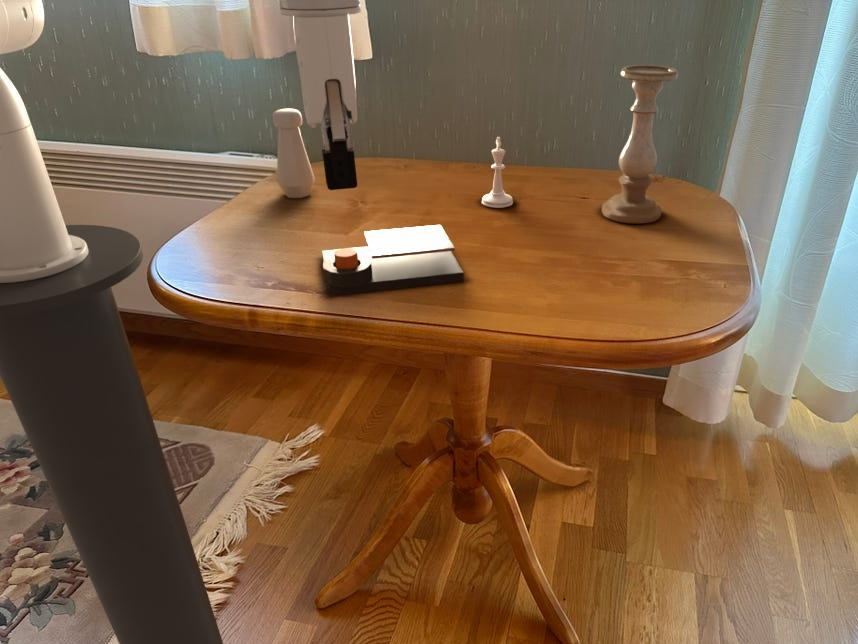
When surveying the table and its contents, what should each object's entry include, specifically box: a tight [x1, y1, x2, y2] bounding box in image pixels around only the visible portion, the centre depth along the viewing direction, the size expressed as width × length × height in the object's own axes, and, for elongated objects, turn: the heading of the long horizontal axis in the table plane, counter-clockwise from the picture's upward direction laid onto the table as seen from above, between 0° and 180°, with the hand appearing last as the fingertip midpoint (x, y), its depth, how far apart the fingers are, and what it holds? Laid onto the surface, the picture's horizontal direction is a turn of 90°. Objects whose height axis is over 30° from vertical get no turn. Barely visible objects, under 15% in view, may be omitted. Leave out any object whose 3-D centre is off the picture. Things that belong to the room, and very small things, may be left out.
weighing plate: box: [363, 224, 456, 259], centre depth 84 cm, size 10×8×1 cm
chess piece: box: [481, 136, 514, 209], centre depth 103 cm, size 5×5×10 cm
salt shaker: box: [272, 108, 315, 199], centre depth 105 cm, size 6×6×13 cm
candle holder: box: [601, 64, 679, 224], centre depth 96 cm, size 9×9×20 cm
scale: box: [321, 245, 465, 297], centre depth 83 cm, size 16×12×3 cm
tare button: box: [334, 247, 358, 269], centre depth 78 cm, size 3×3×2 cm
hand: (342, 186), depth 74 cm, fingers closed
